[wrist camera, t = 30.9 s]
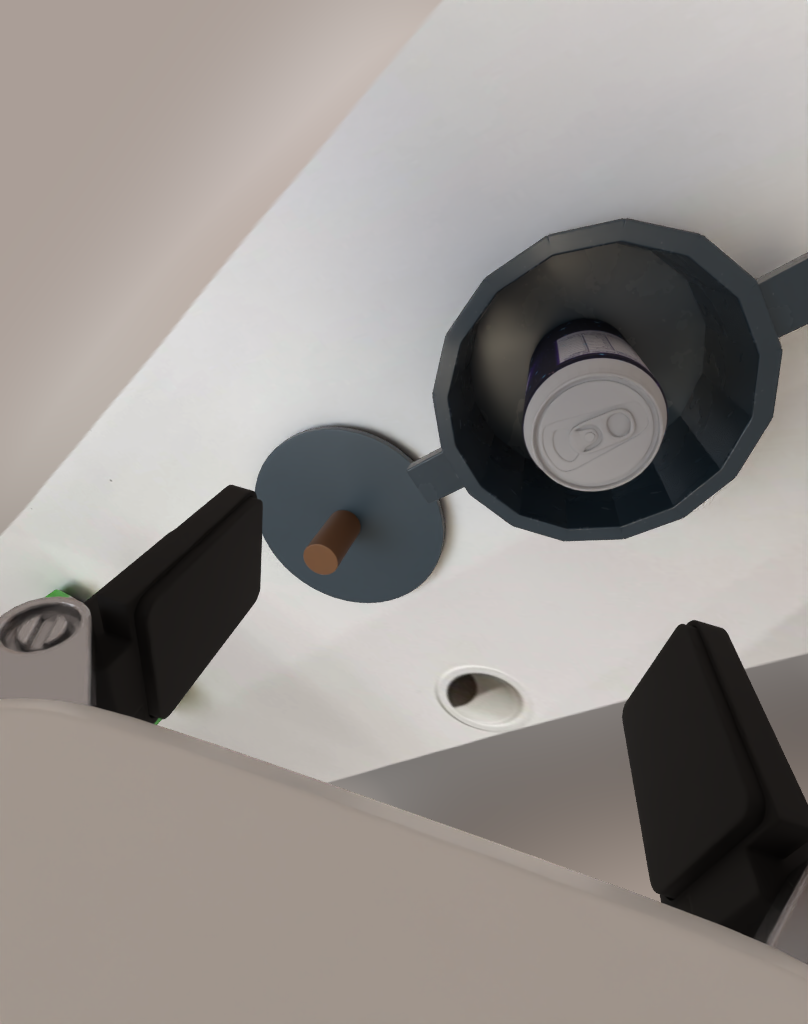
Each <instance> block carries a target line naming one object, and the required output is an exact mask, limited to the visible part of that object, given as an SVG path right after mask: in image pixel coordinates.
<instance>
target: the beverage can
mask: <svg viewBox="0 0 808 1024" xmlns="http://www.w3.org/2000/svg"><path fill="white" fill-rule="evenodd" d="M667 424H668V405H667V400H666V397H665V394H664V392H663V390H662V388H661V386H660V384H659V383H658V381H657V380H656V379H655V377H654V376H653V375H652V373H651V372H650V371H649V369H648V368H647V367H646V365H645V364H644V363H643V361H642V360H641V359H640V357H639V356H638V355H637V353H636V352H635V351H634V350H633V348H632V347H631V346H630V344H629V343H628V342H627V340H626V339H625V338H624V336H623V335H622V334H621V333H620V332H619V331H618V330H617V329H616V328H614V327H613V326H611V325H610V324H608V323H606V322H603V321H600V320H595V319H577V320H572V321H569V322H566V323H563V324H561V325H559V326H558V327H556V328H554V329H553V330H551V331H550V332H549V333H548V334H547V335H546V336H545V337H544V338H543V339H542V340H541V341H540V343H539V344H538V345H537V347H536V349H535V351H534V353H533V355H532V358H531V361H530V366H529V373H528V380H527V388H526V395H525V403H524V410H523V418H522V436H523V441H524V444H525V447H526V450H527V452H528V454H529V456H530V457H531V459H532V460H533V462H534V463H535V464H536V465H537V466H538V467H539V468H540V469H541V470H542V471H543V472H544V473H545V474H546V475H548V476H549V477H550V478H551V479H553V480H554V481H555V482H557V483H559V484H561V485H563V486H565V487H568V488H571V489H574V490H580V491H603V490H608V489H612V488H615V487H618V486H621V485H623V484H625V483H627V482H629V481H631V480H632V479H634V478H635V477H636V476H638V475H639V474H641V473H642V472H643V471H644V470H645V469H646V468H647V467H648V465H649V464H650V463H651V462H652V460H653V459H654V457H655V455H656V454H657V452H658V450H659V447H660V445H661V443H662V441H663V439H664V436H665V433H666V429H667Z"/></svg>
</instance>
